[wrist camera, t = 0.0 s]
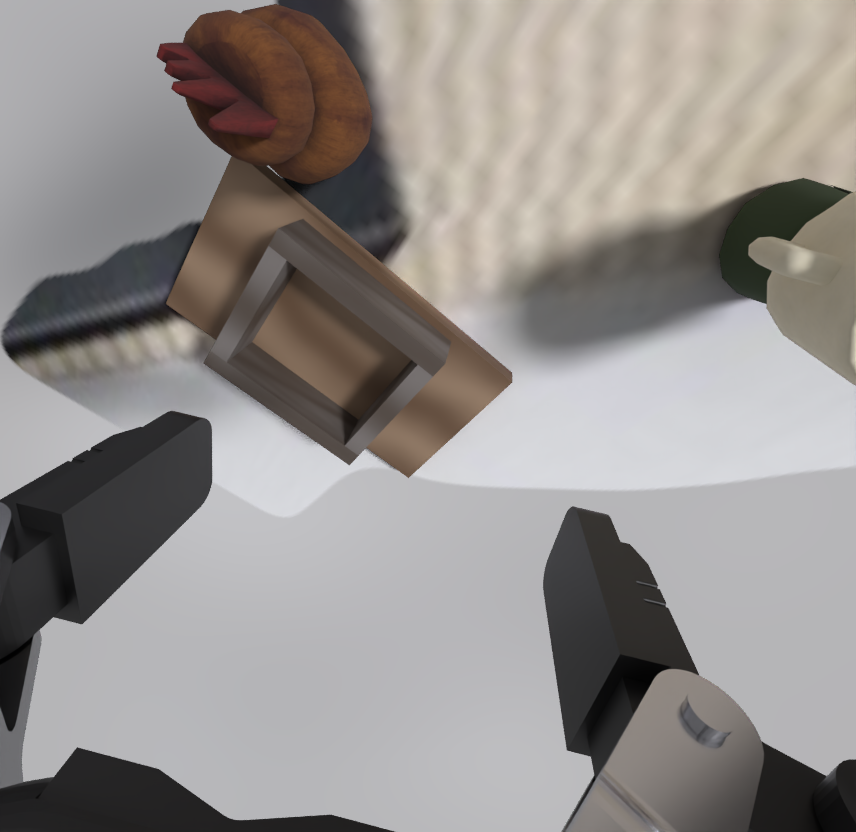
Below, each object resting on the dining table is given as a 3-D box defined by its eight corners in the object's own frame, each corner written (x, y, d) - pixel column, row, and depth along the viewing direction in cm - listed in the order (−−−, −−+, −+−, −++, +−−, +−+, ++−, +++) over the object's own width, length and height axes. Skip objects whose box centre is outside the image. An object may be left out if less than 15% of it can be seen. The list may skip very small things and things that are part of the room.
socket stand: (247, 149, 27) (199, 151, 23) (512, 372, 32) (512, 407, 28) (178, 297, 33) (130, 320, 29) (411, 466, 38) (399, 507, 34)
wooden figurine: (403, 138, 26) (302, 137, 13) (326, 193, 28) (174, 238, 15) (334, 4, 23) (126, -159, 10) (255, 77, 25) (1, 14, 13)
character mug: (919, 196, 24) (1277, 246, 13) (825, 322, 27) (1038, 444, 16) (716, 145, 24) (897, 148, 13) (652, 277, 28) (747, 368, 17)
